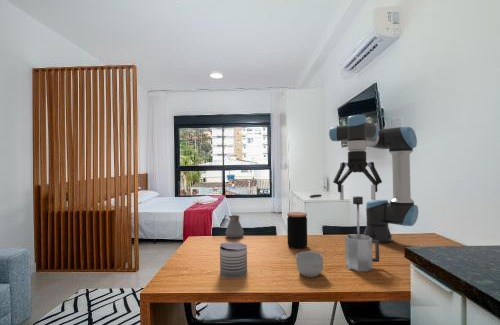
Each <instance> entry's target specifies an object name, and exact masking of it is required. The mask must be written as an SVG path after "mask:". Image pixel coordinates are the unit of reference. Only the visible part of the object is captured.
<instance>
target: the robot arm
mask: <svg viewBox="0 0 500 325" xmlns="http://www.w3.org/2000/svg"><path fill="white" fill-rule="evenodd" d="M328 133H329V134H328V136H329V139H330V140H331V141H332V142H347V151H348V152H347V162H344V161H342V162H340V166H339V169H338V170H337V173H336V175H335V176H334V179H333V183H334V185H337V193H339V201H340V200H341V201H344V191H345V190H344V184H343V183H344V182H345V181H346V180H347V178H349V176H350V175H351V174H352V173H363V174H364V175H365V176H366V178H367V179H368V181H370V183H371V184H370V198H371V200H368V201H367V202H366V206H365V207H366V208H365V212H366V215H365V216H366V218H365V219H366V225H365V226H366V227H365V229H364V233H363V235H366V236H369V237H371V238H372V240H378V241H379V244H380V243H381V244H385V243H391V242H392V241H393V237H392V234H391V232H390V229H389V224H392V225H398V226H403V227H412V226H414V225H415V224H416V222H417V220H418V217H419V206H418V205H416V204H415V201H414V200H413V199H412V198H411V196H412V195H411V194H412V193H411V154H412V153H413V152H414V148H417V146H418V145H417V144H418V138H417V135H416V131H415V130H414V128H412V127H411V126H400V127H389V128H381V129H379V125H377V124H376V123H373V122H369V121H367V117H366V115H364V114H354V115H350V116H348V117H347V124H345V125H334V126H331V127H330V128H329V132H328ZM367 147H369V148H374V149H380V150H388V152H389V154H390V155H391V164H392V166H391V167H392V198H391V199H390V200H389V201H388V199H376V193H377V192H378V185H380V184H382V183H383V181H382V178H381V177H380V175H379V173H378V171H377V169H376V166H375V163H374V161H369V162H367V151H366V150H367ZM347 167H348V169H346V172H345V173H344V174H342V173H343V172H344V170H345V168H347ZM366 167H368V168H369V169H370V172H371V173H372V175H371V173H370V172H369V170H368V169H367V168H366Z"/></svg>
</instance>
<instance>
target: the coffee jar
mask: <svg viewBox="0 0 500 325" xmlns="http://www.w3.org/2000/svg"><path fill="white" fill-rule="evenodd" d="M286 215H287V218H286V223H287V224H286V225H287V226H286V227H287V245H288V247H289V248H290V249H292V250H293V249H295V250H304V249H305V248H307V247H308V217H307V215H308V213H307V212H301V211H291V212H288V213H287V214H286Z"/></svg>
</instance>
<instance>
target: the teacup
mask: <svg viewBox="0 0 500 325" xmlns="http://www.w3.org/2000/svg"><path fill="white" fill-rule="evenodd" d="M295 257H296V258H295V259H296V260H295V261H296V268H297V271H298V272H299V273H300V274H301V275H302V276H304V277H307V278H315V277H317V276H319V275H320V274H321V273H322V272H323V269H324V258H323V254H322V253H320V252H317V251H314V250H310V251H309V250H307V251H300V252H297V253H296V254H295Z"/></svg>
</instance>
